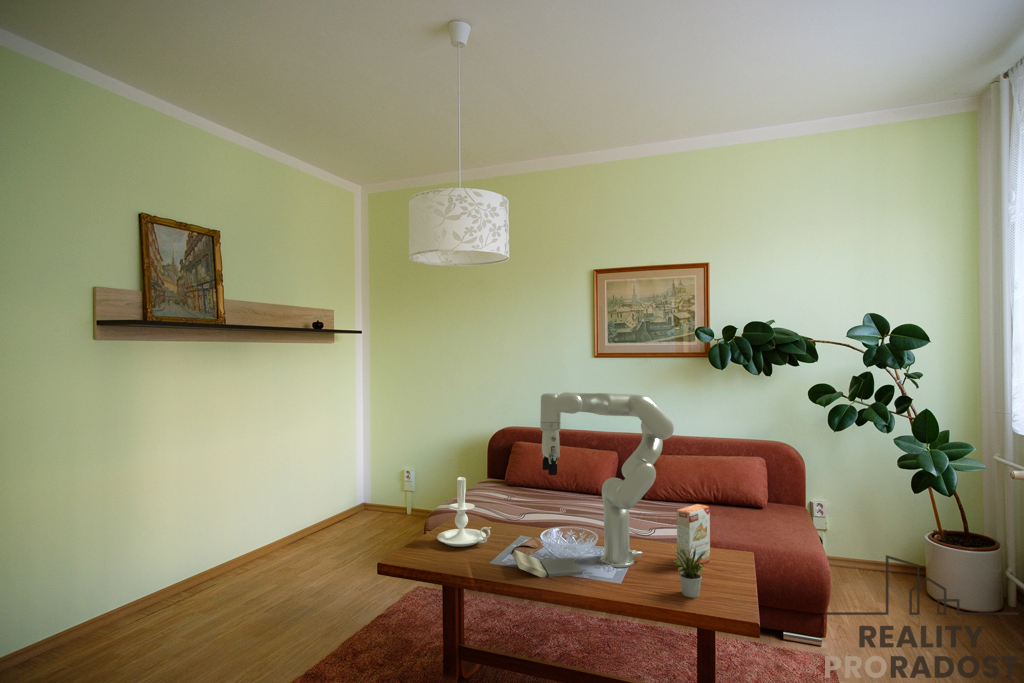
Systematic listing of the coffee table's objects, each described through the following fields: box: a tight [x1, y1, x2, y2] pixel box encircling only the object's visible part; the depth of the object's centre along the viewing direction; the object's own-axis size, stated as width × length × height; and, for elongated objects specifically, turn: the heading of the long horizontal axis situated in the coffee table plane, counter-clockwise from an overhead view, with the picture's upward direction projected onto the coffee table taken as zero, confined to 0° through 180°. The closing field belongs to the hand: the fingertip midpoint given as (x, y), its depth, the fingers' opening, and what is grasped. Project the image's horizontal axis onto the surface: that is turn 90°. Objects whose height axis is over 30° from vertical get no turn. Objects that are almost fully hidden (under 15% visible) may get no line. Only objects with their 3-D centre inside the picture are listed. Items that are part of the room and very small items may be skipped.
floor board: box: [539, 557, 583, 578], centre depth 204 cm, size 12×14×2 cm
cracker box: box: [676, 503, 711, 567], centre depth 211 cm, size 14×6×21 cm, turn 129°
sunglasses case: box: [511, 536, 544, 556], centre depth 225 cm, size 18×7×7 cm
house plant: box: [666, 544, 708, 598], centre depth 183 cm, size 14×14×16 cm
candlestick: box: [436, 476, 492, 548], centre depth 235 cm, size 21×25×28 cm
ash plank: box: [512, 550, 549, 578], centre depth 202 cm, size 11×14×2 cm
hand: (549, 472), depth 209 cm, fingers open, 9 cm apart
